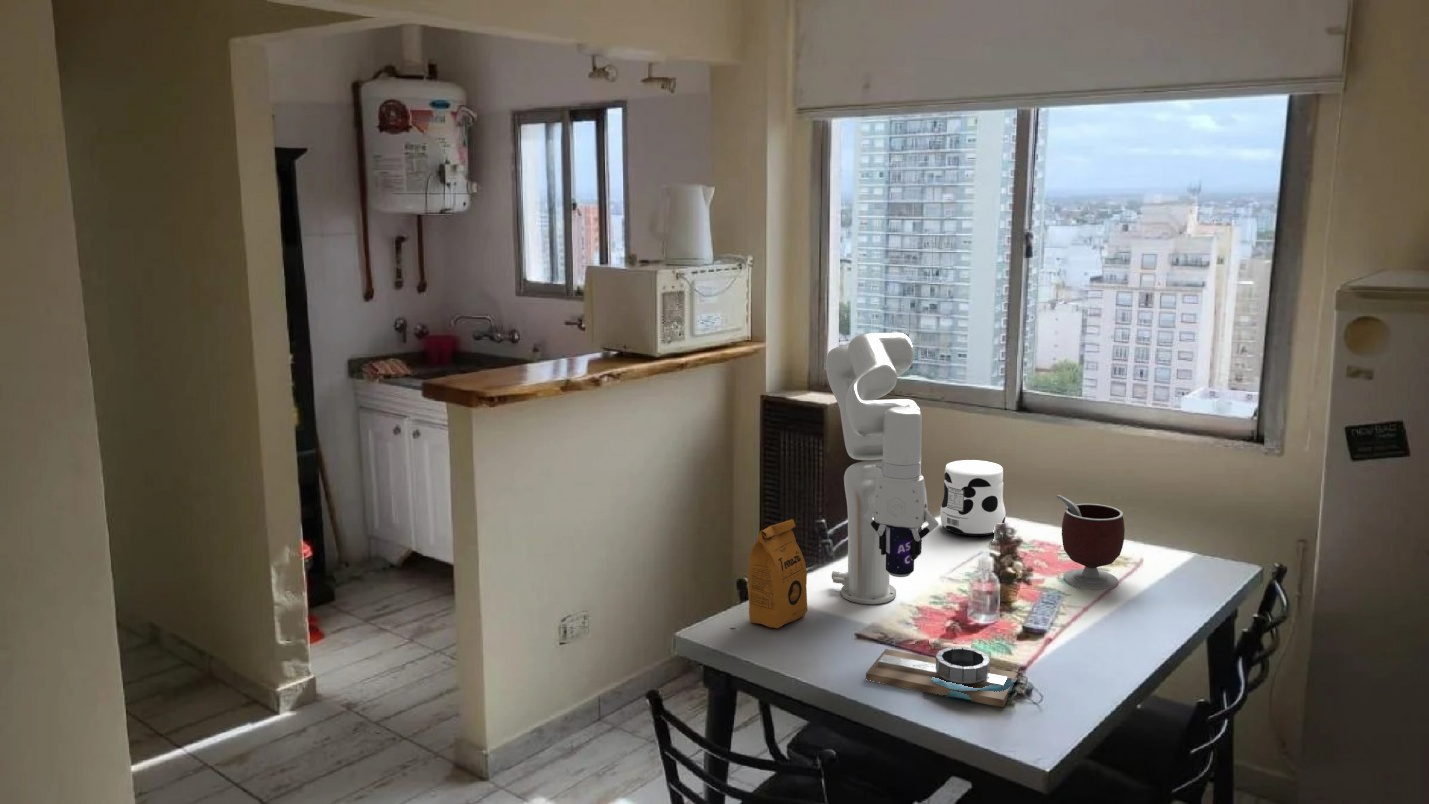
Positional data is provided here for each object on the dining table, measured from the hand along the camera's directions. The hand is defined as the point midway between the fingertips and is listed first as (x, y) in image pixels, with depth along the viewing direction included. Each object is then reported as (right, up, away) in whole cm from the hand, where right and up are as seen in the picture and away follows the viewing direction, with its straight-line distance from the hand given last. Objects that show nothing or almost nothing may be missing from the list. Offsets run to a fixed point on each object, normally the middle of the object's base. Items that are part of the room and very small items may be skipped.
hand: (900, 554), depth 215 cm
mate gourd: (+51, -12, +37) cm, 64 cm away
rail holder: (+6, -21, -13) cm, 25 cm away
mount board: (+6, -22, -13) cm, 26 cm away
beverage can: (0, -4, +1) cm, 4 cm away
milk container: (+33, -5, +76) cm, 83 cm away
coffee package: (-24, -17, +18) cm, 34 cm away
